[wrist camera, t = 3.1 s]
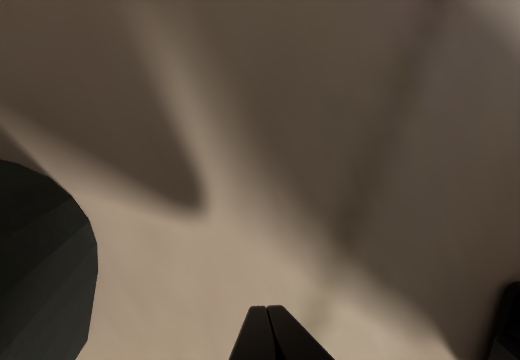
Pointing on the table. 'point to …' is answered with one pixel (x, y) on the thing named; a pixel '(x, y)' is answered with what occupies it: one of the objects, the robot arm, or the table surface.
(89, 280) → the sushi
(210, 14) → the table surface
